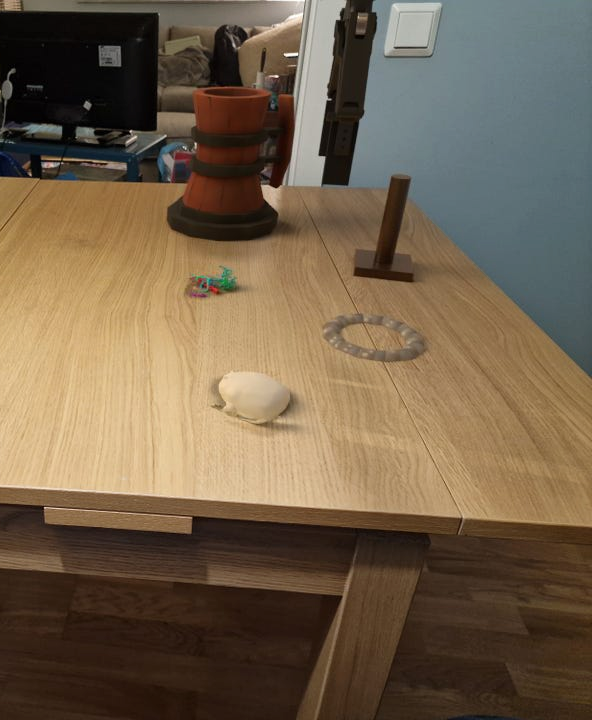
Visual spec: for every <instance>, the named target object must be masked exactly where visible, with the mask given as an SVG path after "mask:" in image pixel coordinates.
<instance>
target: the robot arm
mask: <svg viewBox="0 0 592 720" xmlns="http://www.w3.org/2000/svg"><path fill="white" fill-rule="evenodd" d="M374 1H375V0H345V5H344V7H341V9H340V11H339V19H336V20H335V23H334V26H333V27H334V28H333V38H334V40H333V44H332V62H331V69H330V74H329V79H328V83H327V85H326V89H327V91H326V96H327V99H326V101H325V108H324V113H323V120H322V128H321V135H320V141H319V148H318V154H317V155H318V157H324V158H325V161H324V166H323V172H322V179H321V185H325V186H326V185H327V186H343V187H349V184H350V178H351V172H352V167H353V161H354V155H355V152H356V151H355V150H356V145H357V140H358V139H357V138H358V133H359V127H360V120H362V119H363V118H364V115H365V103H366V94H367V86H368V79H369V70H370V64H371V63H370V61H371V57H372V53H373V44H374V40H375V37H376V33H377V30H378V29H377V28H378V15H377V11H373V5H374V4H373V3H374Z"/></svg>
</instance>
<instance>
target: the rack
mask: <svg viewBox="0 0 592 720" xmlns="http://www.w3.org/2000/svg"><path fill="white" fill-rule="evenodd" d="M411 182H412V176H411V175H407V174H401V173H399V174H398V173H395V174H392V175H390V181H389V185H388V191H387V194H386V199H385V205H384V209H383V213H382V219H381V224H380V229H379V233H378V238H377V244H376V248H375V250H373V249H372V250H370V249H361V248H355V249H354V255H353V273H352V274H353V275H352V276H356V277H365V278H374V279H383V280H391V281H400V282H407V283H412V282H413V279H414V275H415V274H414V267H413V261H412V255H411V254H410V253H400V252H399V253H398V252H396V250H397V245H398V242H399V238H400V233H401V227H402V222H403V219H404V214H405V208H406V205H407V201H408V196H409V192H410V187H411Z"/></svg>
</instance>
